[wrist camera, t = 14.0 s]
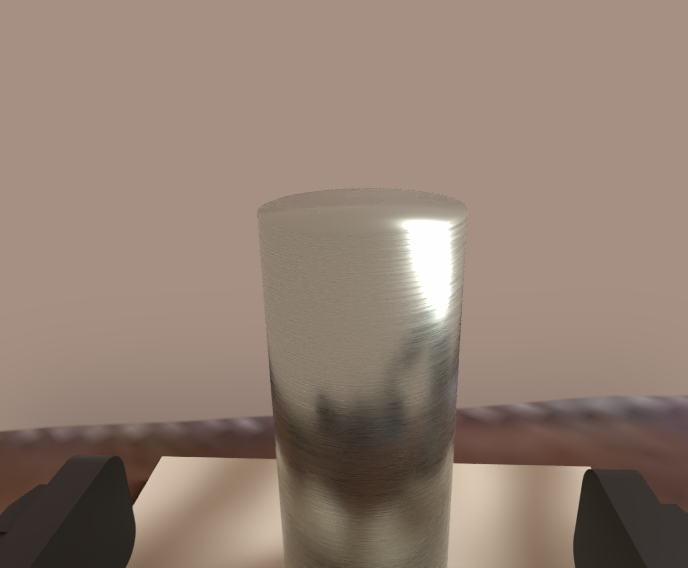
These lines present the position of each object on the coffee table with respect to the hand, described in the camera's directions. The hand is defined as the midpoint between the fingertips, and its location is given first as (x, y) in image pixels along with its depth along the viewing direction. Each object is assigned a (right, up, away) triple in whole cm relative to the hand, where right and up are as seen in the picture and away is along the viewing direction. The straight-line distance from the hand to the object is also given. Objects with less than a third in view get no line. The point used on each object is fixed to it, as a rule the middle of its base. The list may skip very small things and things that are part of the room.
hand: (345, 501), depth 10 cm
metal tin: (+1, -7, +8) cm, 10 cm away
